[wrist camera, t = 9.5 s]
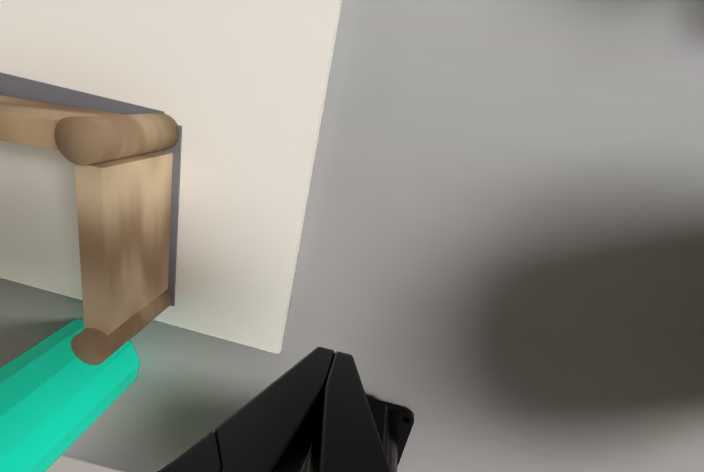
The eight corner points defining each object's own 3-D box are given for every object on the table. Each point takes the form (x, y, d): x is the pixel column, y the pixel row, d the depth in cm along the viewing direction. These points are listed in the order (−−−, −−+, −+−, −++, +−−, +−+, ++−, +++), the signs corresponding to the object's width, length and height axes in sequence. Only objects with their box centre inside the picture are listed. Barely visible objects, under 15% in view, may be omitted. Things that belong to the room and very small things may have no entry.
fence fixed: (172, 310, 23) (106, 369, 18) (145, 303, 23) (72, 359, 18) (180, 117, 19) (96, 123, 14) (147, 109, 19) (51, 111, 14)
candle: (142, 396, 27) (-46, 605, 16) (67, 379, 27) (-168, 571, 16) (136, 326, 25) (-87, 511, 14) (54, 310, 25) (-227, 475, 14)
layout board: (281, 349, 24) (278, 355, 23) (-59, 256, 25) (-70, 259, 24) (369, -156, 15) (367, -166, 14) (-168, -257, 16) (-188, -270, 16)
